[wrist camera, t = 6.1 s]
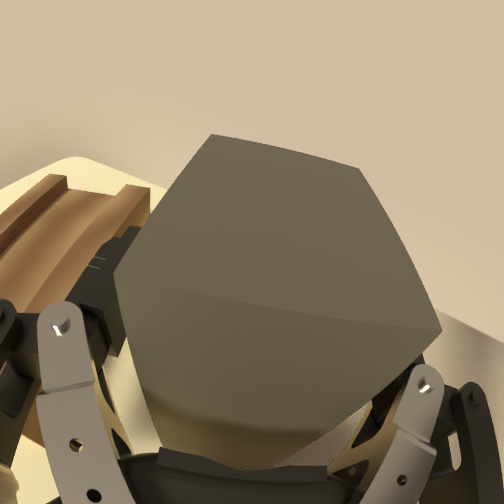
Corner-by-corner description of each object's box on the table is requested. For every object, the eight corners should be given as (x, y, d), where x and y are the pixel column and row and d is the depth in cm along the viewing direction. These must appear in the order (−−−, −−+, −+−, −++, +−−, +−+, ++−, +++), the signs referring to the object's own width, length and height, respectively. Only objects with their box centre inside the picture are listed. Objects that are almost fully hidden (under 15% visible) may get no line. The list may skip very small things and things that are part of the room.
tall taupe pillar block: (268, 370, 16) (359, 168, 8) (262, 471, 11) (442, 330, 3) (188, 356, 15) (208, 133, 8) (164, 456, 11) (106, 271, 3)
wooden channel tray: (150, 233, 23) (150, 188, 20) (49, 450, 9) (8, 424, 6) (56, 214, 22) (49, 173, 20) (-59, 371, 8) (-94, 331, 5)
